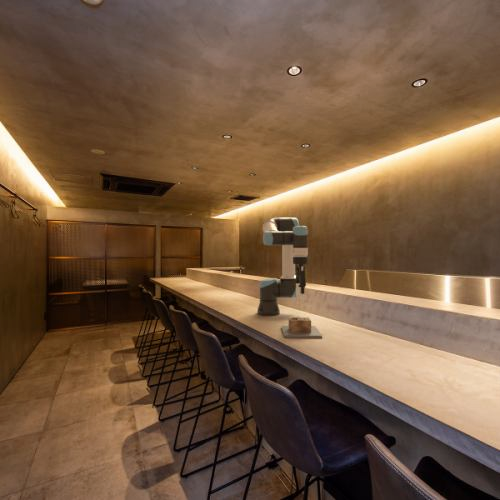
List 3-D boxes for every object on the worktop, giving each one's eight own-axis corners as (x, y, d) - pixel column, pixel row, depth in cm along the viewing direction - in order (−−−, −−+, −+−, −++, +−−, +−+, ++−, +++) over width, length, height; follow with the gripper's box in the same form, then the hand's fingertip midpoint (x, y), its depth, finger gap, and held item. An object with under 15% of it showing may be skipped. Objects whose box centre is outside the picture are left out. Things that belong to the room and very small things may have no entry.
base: (281, 328, 157) (281, 313, 157) (315, 328, 156) (314, 313, 157) (284, 337, 139) (284, 321, 139) (322, 338, 138) (322, 321, 139)
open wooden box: (308, 328, 151) (308, 317, 151) (311, 332, 144) (311, 320, 144) (288, 328, 151) (288, 317, 151) (290, 332, 144) (290, 320, 144)
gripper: (290, 255, 161) (290, 294, 161) (295, 257, 136) (296, 302, 136) (303, 255, 160) (304, 294, 160) (312, 257, 135) (312, 302, 135)
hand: (300, 297), depth 148 cm, fingers open, 13 cm apart
